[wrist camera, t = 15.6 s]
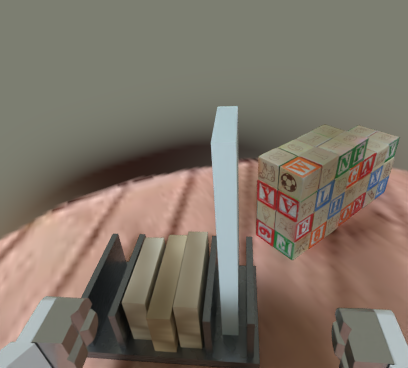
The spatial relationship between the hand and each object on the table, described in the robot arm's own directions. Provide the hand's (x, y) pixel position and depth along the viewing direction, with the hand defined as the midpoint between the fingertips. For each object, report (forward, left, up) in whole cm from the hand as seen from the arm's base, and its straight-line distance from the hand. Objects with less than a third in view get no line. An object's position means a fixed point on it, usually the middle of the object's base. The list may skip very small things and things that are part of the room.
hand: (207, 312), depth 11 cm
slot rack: (+3, -15, -20) cm, 25 cm away
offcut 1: (+6, -15, -19) cm, 25 cm away
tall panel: (-2, -13, -19) cm, 23 cm away
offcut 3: (+1, -14, -19) cm, 24 cm away
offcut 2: (+3, -15, -19) cm, 24 cm away
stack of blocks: (-18, -28, -20) cm, 39 cm away
